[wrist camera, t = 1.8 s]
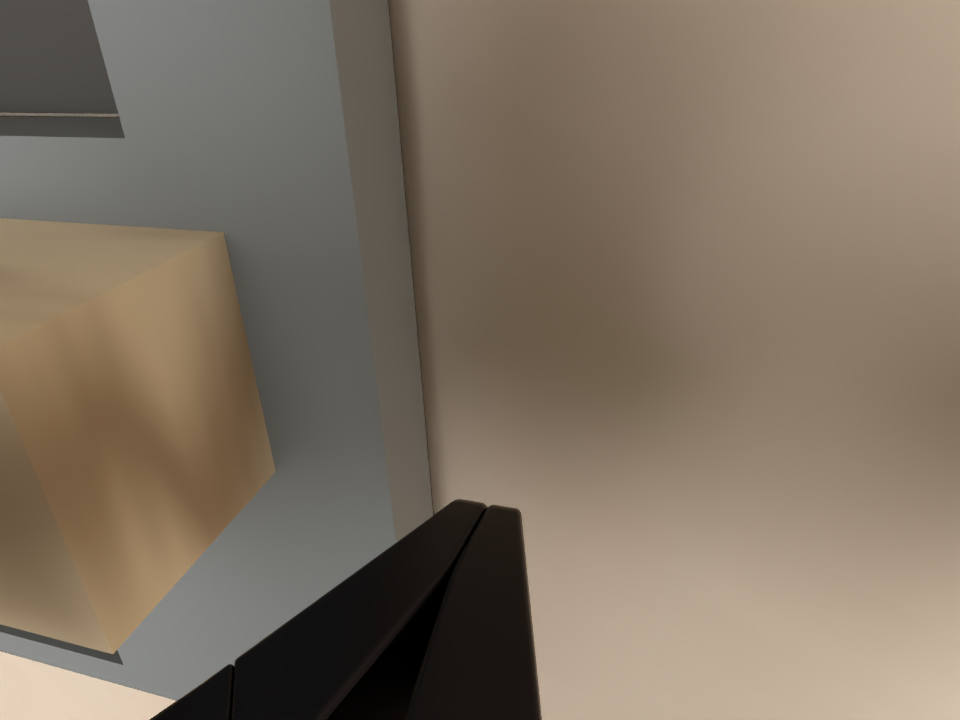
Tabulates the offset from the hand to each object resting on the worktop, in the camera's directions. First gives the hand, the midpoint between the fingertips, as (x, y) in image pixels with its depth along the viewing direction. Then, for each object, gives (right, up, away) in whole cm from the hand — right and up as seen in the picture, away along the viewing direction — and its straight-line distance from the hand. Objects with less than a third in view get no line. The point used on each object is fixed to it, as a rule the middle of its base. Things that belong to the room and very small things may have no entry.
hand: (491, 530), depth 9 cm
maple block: (-7, +2, +5) cm, 9 cm away
